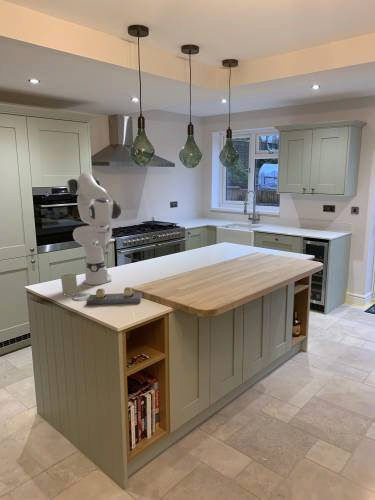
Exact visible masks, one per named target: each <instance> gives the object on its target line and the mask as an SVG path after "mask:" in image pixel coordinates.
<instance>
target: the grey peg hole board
mask: <svg viewBox="0 0 375 500" xmlns="http://www.w3.org/2000/svg"><path fill="white" fill-rule="evenodd" d="M142 298H143V293H142V292H132V297H124V292H123V293H122V292H121V293H105V298H100V299H97V298H96V294H90V295H89V296H88V298H87V299H86V306H87V305H88V306H102V305H103V306H107V305H110V306H111V305H125V304H126V305H127V304H130V305H131V304H141V302H142Z"/></svg>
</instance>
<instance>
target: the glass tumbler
mask: <svg viewBox="0 0 375 500" xmlns="http://www.w3.org/2000/svg"><path fill="white" fill-rule="evenodd" d="M60 279H61V280H60V281H61V288H62V289H61V290H62V295H63V294H65V295H72V296H74V295H73V294H75V295H77V294H79V290H78V281H77V274H76V273H67V274H66V273H65V274H62V275H61V276H60Z"/></svg>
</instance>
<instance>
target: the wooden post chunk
mask: <svg viewBox="0 0 375 500" xmlns="http://www.w3.org/2000/svg"><path fill="white" fill-rule="evenodd" d="M123 293H124V297H132V293H133V289H132V287H131V286H129V287H127V286H126V287H124V289H123Z"/></svg>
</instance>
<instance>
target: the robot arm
mask: <svg viewBox="0 0 375 500" xmlns="http://www.w3.org/2000/svg"><path fill="white" fill-rule="evenodd" d="M66 189H67V193H68V194H70V195H72V196H76V195H77V198H76V202H77V203H76V204H77V210H78V213H79V217H80V220H81V221H82V222H84V223H85V224H88V225H85V226H83V225H82V226H79V227H76V228H75V229H74V230H73V232H72V237H73V240H74V241H75V242H76V243H77V244H79V245H80V246H81V247H82V248H83V249H84V251H85V257H86V269H85V271H84V274H85V275H84V276H85V277H84V278H85V280H83V283H84V284H86V285H93V286H95V285H97V286H98V285H102V284H105V283H110V282H112V275H111V274H109V273H108V269H107V267H106V261H105V258H104V253H106V252H107V249H109V248H110V240H111V239H112V236H113V225H112V220H117V219H118V218H119V217H120V216H121V214H122V208H121V206H120V204H119V203H118V202H117V201H116V200H115V199H114V198H113V196H112V195H111V194H110V193H109V191H107V189H106V188H103V187H102V185H101V182H100V179H99V178H98V177H97V176H96V177H95V176H92V174H90V173H88V172H83V173H81V174H80V175H79V176H78V178H70V179H68V181H67V182H66ZM96 242H97V243H98V246H96V245H95V244H94V243H96Z"/></svg>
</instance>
